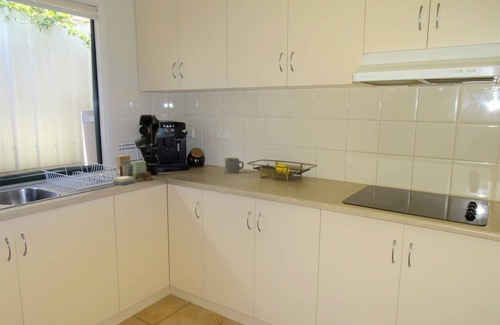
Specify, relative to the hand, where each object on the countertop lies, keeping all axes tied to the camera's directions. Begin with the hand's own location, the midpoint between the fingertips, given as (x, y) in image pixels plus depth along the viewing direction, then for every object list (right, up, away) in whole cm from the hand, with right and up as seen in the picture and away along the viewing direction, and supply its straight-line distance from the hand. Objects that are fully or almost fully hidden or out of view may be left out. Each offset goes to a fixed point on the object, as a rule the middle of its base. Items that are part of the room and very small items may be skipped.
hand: (148, 158), depth 224 cm
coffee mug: (+55, -10, +23) cm, 61 cm away
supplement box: (-21, -11, +15) cm, 28 cm away
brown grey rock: (-7, -13, -1) cm, 15 cm away
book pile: (-10, -15, -16) cm, 24 cm away
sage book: (-4, -12, -4) cm, 13 cm away
